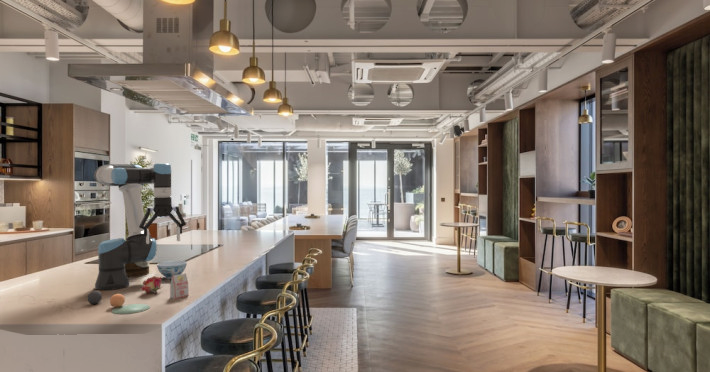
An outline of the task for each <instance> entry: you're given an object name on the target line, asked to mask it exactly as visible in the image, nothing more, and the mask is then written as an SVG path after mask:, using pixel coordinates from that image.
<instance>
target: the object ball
mask: <svg viewBox="0 0 710 372" xmlns="http://www.w3.org/2000/svg"><path fill="white" fill-rule="evenodd" d="M125 299H126V298H125V296H124V295H123V294H121V293H115V294H113V295H111V297H110V300H109V303H110V305H111V306H112V307H114V308H117V307H121V306H124V304H125V301H126V300H125Z"/></svg>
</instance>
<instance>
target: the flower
mask: <svg viewBox="0 0 710 372" xmlns="http://www.w3.org/2000/svg"><path fill="white" fill-rule="evenodd" d="M161 283H162V277H161V276H156V275H153V276H151V277H148V278H147V279H146V280H143V281H142V285H143V286H141V291H144V292H145V293H147V294H150V293H153V292H154V294H158V291H159V290H161V289H162V288H163V286H162V287H161V285H162V284H161Z"/></svg>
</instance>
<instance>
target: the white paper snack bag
mask: <svg viewBox="0 0 710 372" xmlns="http://www.w3.org/2000/svg"><path fill="white" fill-rule="evenodd" d="M169 292H170V293H169V296H170V298H171V299H175V300H176V299H180V298H185V297H188V296H189V280H188V277H187V273H181V274H180V275H175V276H172V279H170V284H169Z"/></svg>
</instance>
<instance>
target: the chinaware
mask: <svg viewBox="0 0 710 372" xmlns="http://www.w3.org/2000/svg"><path fill="white" fill-rule="evenodd" d="M187 263H188V262H187V261H185V260H169V261H162V262H159V263H157V264H156V266H157V269H158V270H157V271H158V272H159V273H160V274H161V275H162V276H164V277H165V279H168V280H171V279H172V276H175V275H180V274H184V273H183V272H184V271H185V270H186V267H187Z"/></svg>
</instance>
